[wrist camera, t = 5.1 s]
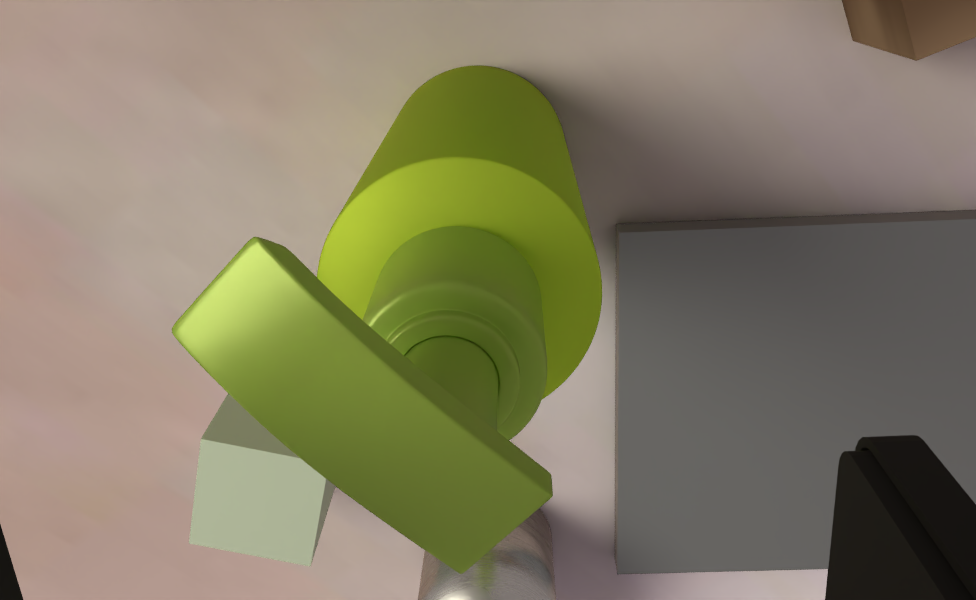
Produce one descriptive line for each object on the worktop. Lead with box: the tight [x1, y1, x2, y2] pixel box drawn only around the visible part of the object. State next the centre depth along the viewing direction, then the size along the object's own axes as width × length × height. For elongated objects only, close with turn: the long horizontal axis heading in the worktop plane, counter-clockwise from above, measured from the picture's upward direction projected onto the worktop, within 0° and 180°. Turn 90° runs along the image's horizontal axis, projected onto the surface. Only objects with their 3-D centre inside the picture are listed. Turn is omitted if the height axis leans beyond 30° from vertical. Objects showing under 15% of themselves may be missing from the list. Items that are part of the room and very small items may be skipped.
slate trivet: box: [615, 210, 976, 574], centre depth 34 cm, size 14×14×1 cm
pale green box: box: [189, 393, 335, 566], centre depth 32 cm, size 4×4×6 cm
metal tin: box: [418, 509, 556, 600], centre depth 34 cm, size 5×5×6 cm
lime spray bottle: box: [172, 66, 602, 574], centre depth 22 cm, size 6×7×20 cm
